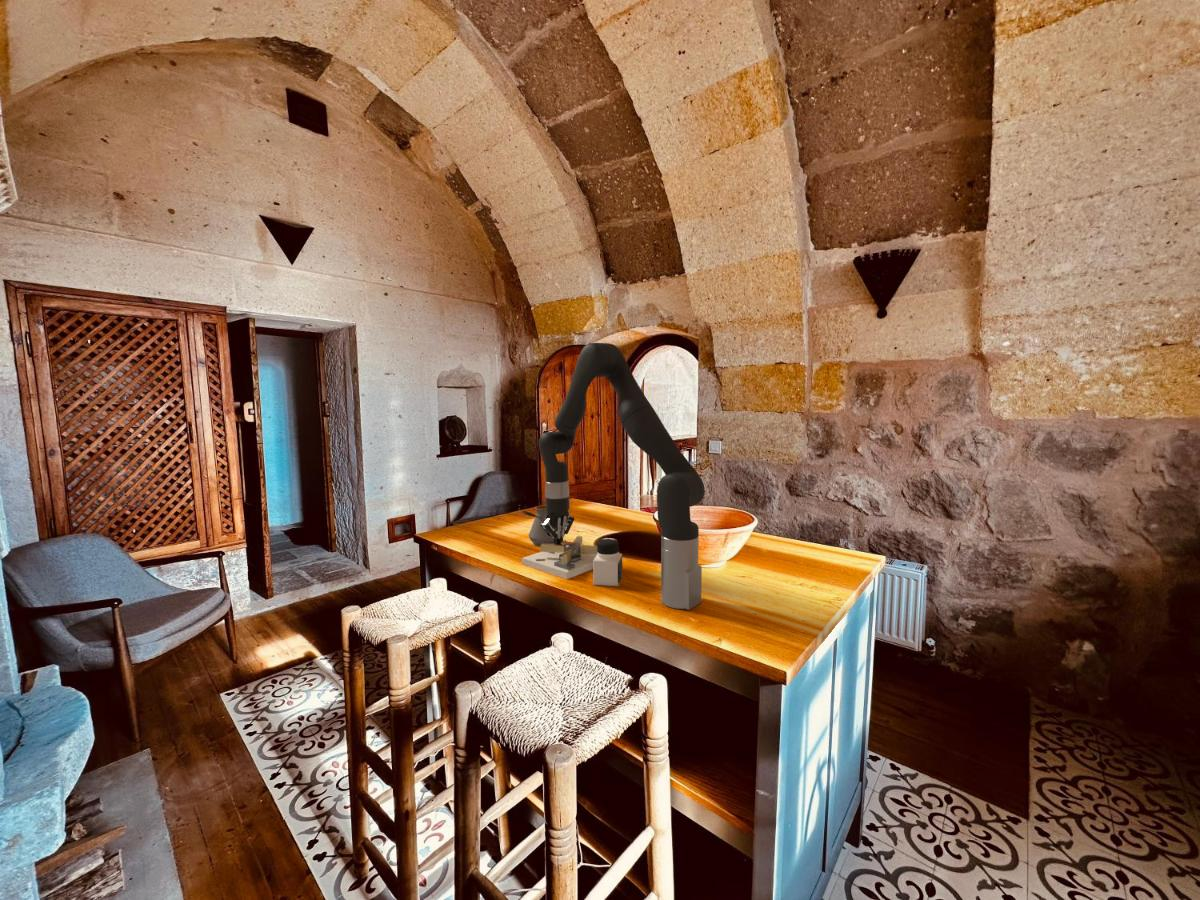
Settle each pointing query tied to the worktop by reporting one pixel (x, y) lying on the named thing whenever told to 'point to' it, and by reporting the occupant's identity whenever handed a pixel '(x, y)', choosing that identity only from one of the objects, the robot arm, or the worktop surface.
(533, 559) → the board
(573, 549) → the cam capstan
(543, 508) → the coffee pot
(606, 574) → the medicine bottle
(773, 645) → the worktop surface
